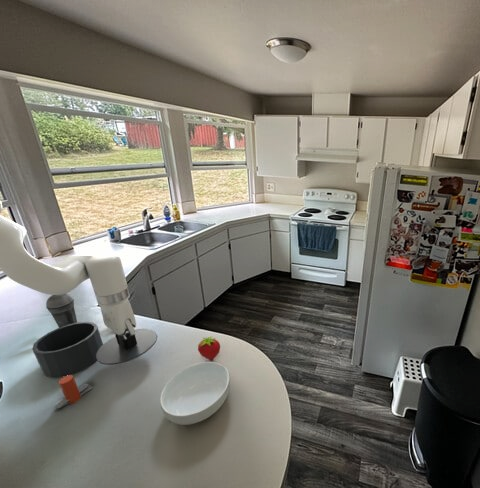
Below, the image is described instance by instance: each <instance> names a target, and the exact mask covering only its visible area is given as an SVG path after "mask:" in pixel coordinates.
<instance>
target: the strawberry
mask: <svg viewBox="0 0 480 488" xmlns="http://www.w3.org/2000/svg"><path fill="white" fill-rule="evenodd" d="M220 350H221V344H220V341H219V340H217V338H215V337H214V338H213V336H212V335H211V336H210V337H209V336H208V337H206V336H205V337H202V340H200V342H198V345H197V351H198V353H199V354H200V356H202V357H203V358H205V359H207V360H209V361H213V360H214V359H215V358H216V357H217V356H218V354H219V353H220V352H221V351H220Z"/></svg>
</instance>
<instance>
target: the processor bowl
mask: <svg viewBox="0 0 480 488" xmlns="http://www.w3.org/2000/svg"><path fill="white" fill-rule="evenodd" d="M103 344H104V342H103V340H102V336H101V334H100V329H99V327H98V325H97V324H96V323H95V322H92V321H79V322H78V321H77V323H74V324H69V325H66V326H63V327H60V328H59V327H58V328H56V329H53V330H51V331H49V332H47V333H46V334H44V335H42V336H41V337H39V338H38V339H37V340H36V341H35V342H34V343H33V345H32V348H31V350H32V352H33V354H34V356H35V358H36V361H37V363H38V366H39V367H40V369H41V372H42V373H43V375H44V377H47V378H50V379H58V378H59V379H60V378H63V376H67V375H72V376H73V375H74V374H77V373H79V372H82V371H83V370H85V369H87V368H89V367H91V366H92V365H93V364H95V363H96V362H98V361H97V358H96V354H97V351H98V350H99V348H100V347H101V346H102V345H103Z"/></svg>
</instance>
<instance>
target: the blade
mask: <svg viewBox="0 0 480 488" xmlns="http://www.w3.org/2000/svg"><path fill="white" fill-rule="evenodd" d="M58 384H59V387H60V389H61V392H62V394H63V396H64V398H63V399H61V400H60V401H59V402H58V403H56V404H55V405H54V406H53V409H54V410H55V411H57V410H59V409H61V408H62V407H64V406H66V405H72V404H75V403H77V402H78V401H80V400H81V398H82V396H83V395H85V394H86V393H87V392H89V391H91V390H92V389H93V388H92V386H91V385H90V384H88V383H83V384H82V385H81V386H79V387H78V384H77V382H76V379H75V378H74V375H73V374H72V375H68V376H65V377H61V378H60V379H59V380H58Z"/></svg>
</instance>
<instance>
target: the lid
mask: <svg viewBox="0 0 480 488" xmlns="http://www.w3.org/2000/svg"><path fill="white" fill-rule="evenodd" d="M134 330H135V332H136V334H135V337H136V341H137V345H135V346H134V347H132V348H130V349H128V350H125V347H124V344H123V341H122V340H123V336H122V334H121V335H118V334H117V336H118V339H119V342H120V345H119V344H118V342H117V339H116V336H113V337H112V338H110V339H109V340H107V341H105V342H103V345H102V346H101V347H100V348H99V350H98V351H97V354H96V358H97V361H96V362H98V363H100V364H102V365H106V366H114V365H121V364H124V363H127V362H130V361H133V360H135V359H137V358H139V357H141V356H142V355H144V354H146V353H147V352H148V351H149V350H151V349H152V347H154V345H155V344H156V342H157V340H158V334H157V333H156V331H155V330H153V329H151V328H134ZM127 333H129V332H128V331H127V332H125V334H127Z"/></svg>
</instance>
